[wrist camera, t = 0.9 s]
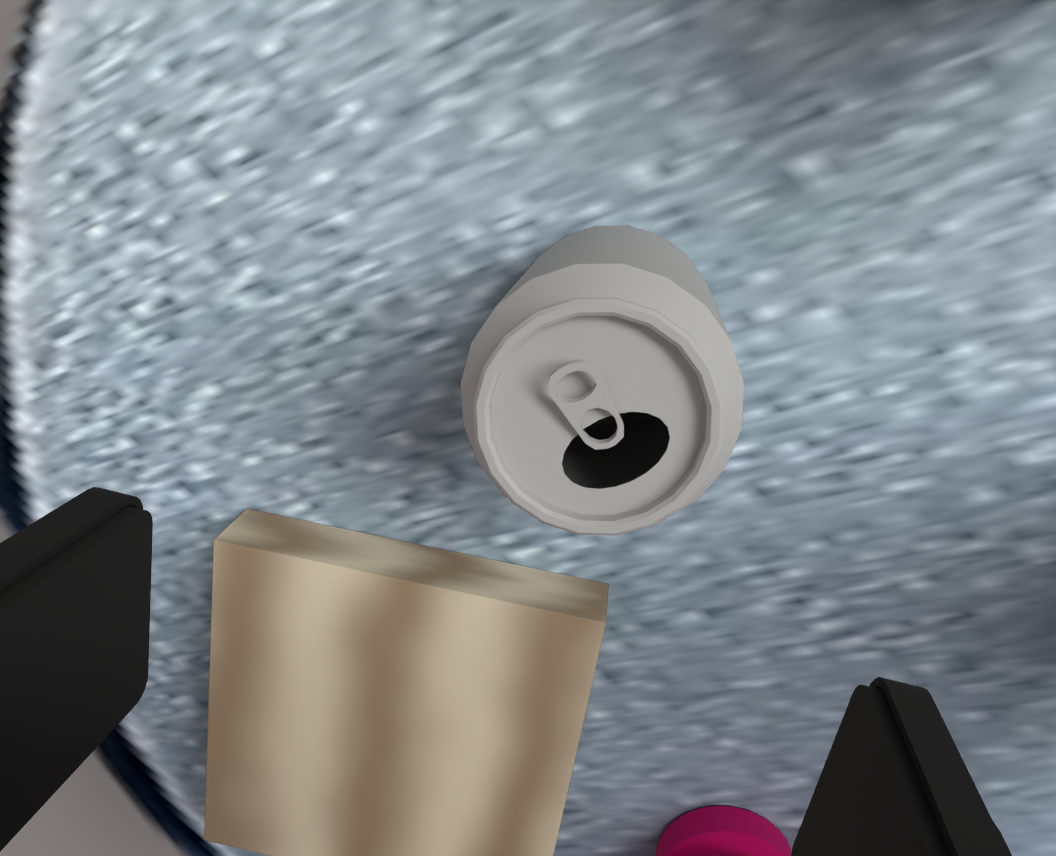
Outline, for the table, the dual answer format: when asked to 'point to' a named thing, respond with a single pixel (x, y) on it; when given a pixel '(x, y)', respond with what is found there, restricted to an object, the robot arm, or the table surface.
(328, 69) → the table surface
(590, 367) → the can
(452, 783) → the plinth
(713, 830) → the pepper mill
